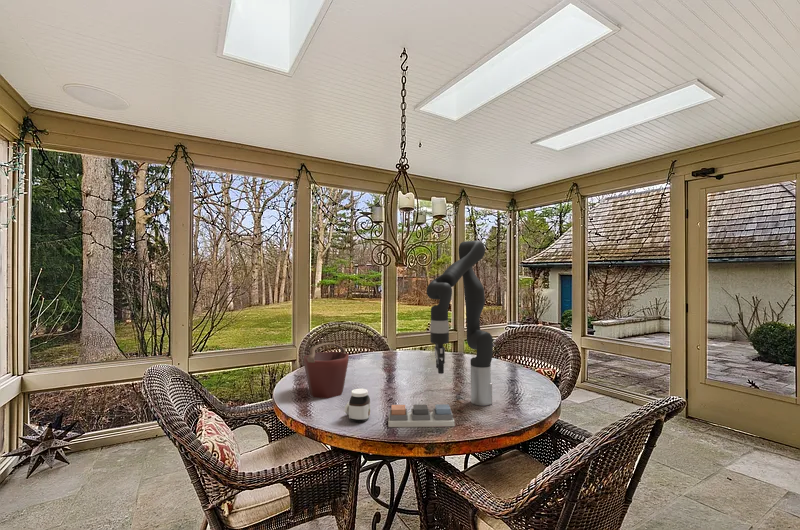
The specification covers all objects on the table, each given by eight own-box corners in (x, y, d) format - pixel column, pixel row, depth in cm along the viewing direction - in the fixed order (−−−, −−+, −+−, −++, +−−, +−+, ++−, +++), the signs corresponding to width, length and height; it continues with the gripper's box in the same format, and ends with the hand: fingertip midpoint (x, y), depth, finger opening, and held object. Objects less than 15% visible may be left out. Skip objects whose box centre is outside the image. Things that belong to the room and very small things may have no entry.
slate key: (448, 410, 159) (448, 404, 159) (450, 415, 153) (450, 409, 153) (435, 410, 159) (435, 404, 159) (436, 415, 153) (436, 409, 153)
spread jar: (364, 424, 153) (364, 395, 153) (338, 422, 156) (338, 393, 156) (374, 414, 165) (374, 386, 165) (349, 411, 168) (349, 384, 168)
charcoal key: (426, 410, 159) (426, 404, 159) (428, 415, 153) (428, 409, 153) (413, 410, 159) (413, 404, 159) (414, 415, 153) (414, 409, 153)
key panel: (450, 416, 161) (450, 407, 161) (454, 426, 151) (454, 416, 151) (388, 417, 161) (388, 407, 161) (388, 427, 151) (388, 416, 151)
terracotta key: (405, 410, 159) (405, 404, 159) (405, 415, 153) (405, 409, 153) (391, 410, 158) (391, 404, 159) (391, 415, 153) (391, 409, 153)
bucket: (313, 403, 178) (313, 349, 178) (293, 392, 195) (293, 343, 195) (358, 393, 193) (357, 343, 194) (335, 383, 210) (335, 337, 211)
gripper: (450, 333, 150) (451, 375, 150) (446, 328, 165) (446, 366, 164) (431, 333, 150) (432, 375, 150) (429, 328, 165) (429, 366, 164)
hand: (439, 370), depth 157 cm, fingers open, 8 cm apart
